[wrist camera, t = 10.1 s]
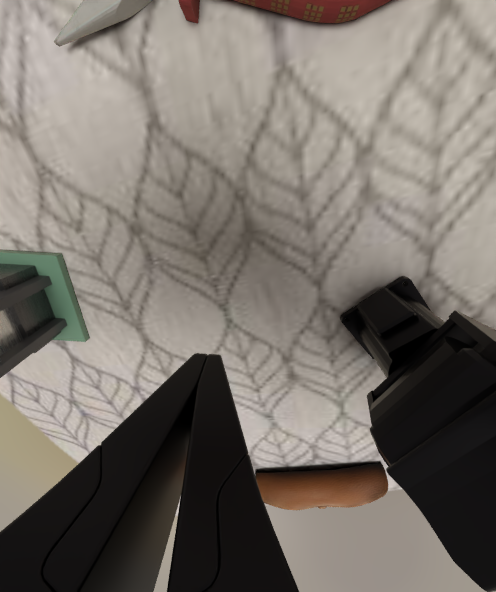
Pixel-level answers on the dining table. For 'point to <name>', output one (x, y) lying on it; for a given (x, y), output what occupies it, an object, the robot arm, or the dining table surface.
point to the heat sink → (22, 308)
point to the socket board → (59, 296)
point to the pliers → (125, 3)
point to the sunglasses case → (323, 487)
